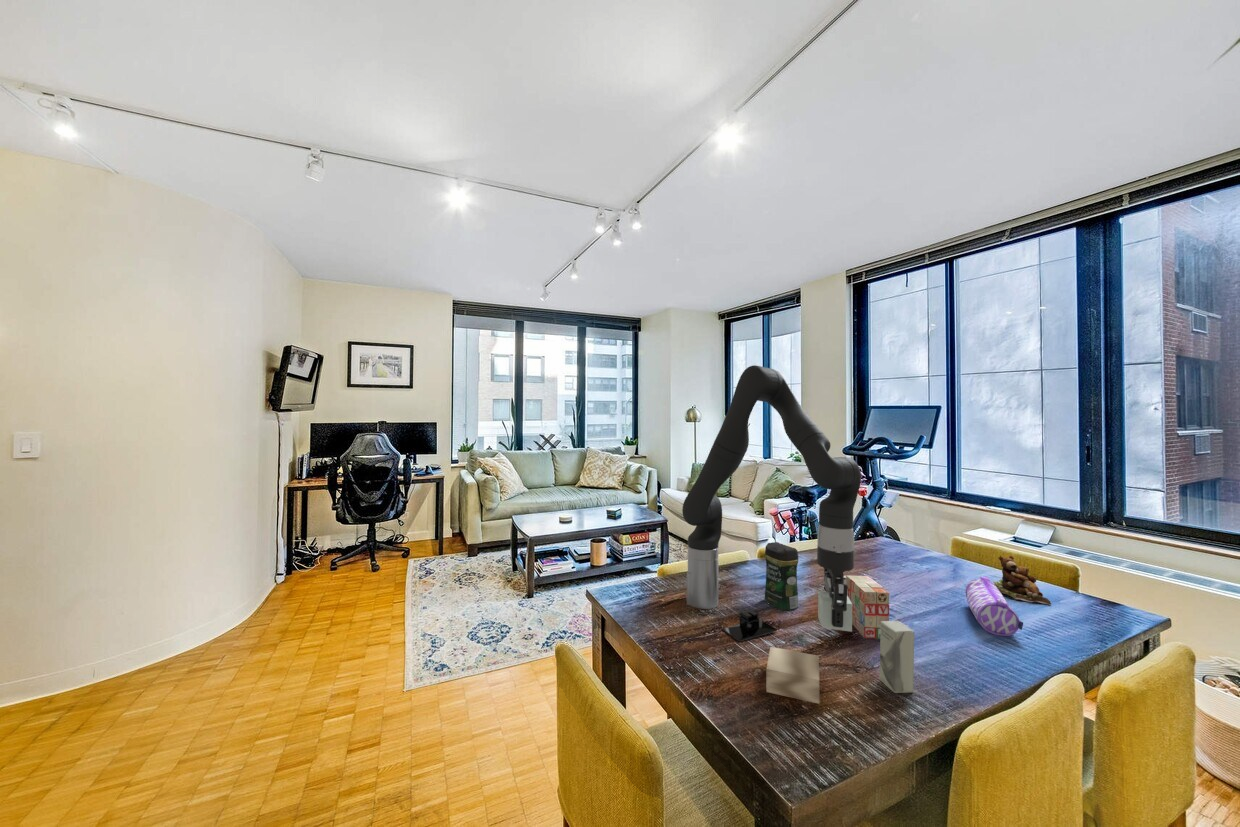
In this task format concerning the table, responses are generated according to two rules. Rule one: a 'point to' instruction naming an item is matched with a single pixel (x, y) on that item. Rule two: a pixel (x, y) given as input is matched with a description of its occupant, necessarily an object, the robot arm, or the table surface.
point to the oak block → (793, 674)
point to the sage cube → (826, 612)
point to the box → (897, 656)
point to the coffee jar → (781, 576)
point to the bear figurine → (1018, 582)
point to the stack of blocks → (867, 605)
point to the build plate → (749, 627)
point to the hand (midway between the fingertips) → (834, 619)
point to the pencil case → (991, 608)
